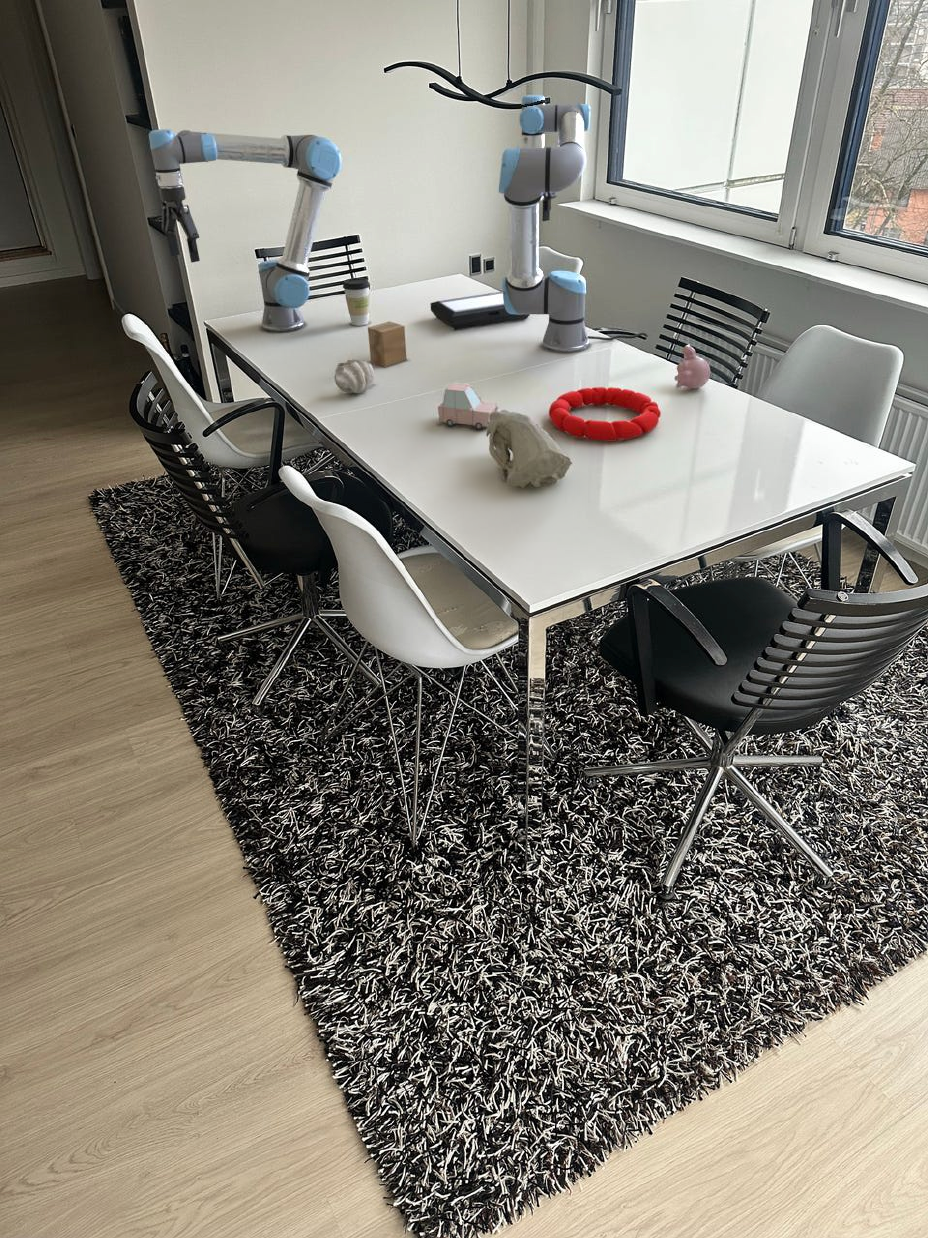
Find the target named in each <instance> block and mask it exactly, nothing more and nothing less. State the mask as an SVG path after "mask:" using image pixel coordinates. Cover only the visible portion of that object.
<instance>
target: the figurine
mask: <svg viewBox="0 0 928 1238" xmlns="http://www.w3.org/2000/svg"><path fill="white" fill-rule="evenodd" d="M682 354H683V358H684V359H683V361H682V362H679V363H678V364H677V365H676V372H677V375H675V376H674V381H675V382H676V381H677V382H676V384H675V386H676V388H681V387H686V388H688V389H693V390H694V389H695V390H696V389H700V388H703V387H704V386H705V385H706V384H707V383H708V382H709V379H710V377H711V367H710V364H709V362H708V361H706V359H704V358H702V357H700V356H697V353H696V350H695V349H694V347H692V345H690V344H686V345H685V346H684V347H683V348H682Z"/></svg>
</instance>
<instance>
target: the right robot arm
mask: <svg viewBox="0 0 928 1238" xmlns="http://www.w3.org/2000/svg"><path fill="white" fill-rule="evenodd" d="M545 99H546V98H545V96H544V95H543V94H528V95H524V96H522V97H521V105H525V104H531V103H534V102H537V101H541V100H545ZM545 101H546V100H545ZM590 124H591V106H590V105H589V104H588V103H568V104H567V103H566V104H564V103H563V104H546V102H545V103H543V104H539V105H533V106H527V107H522V108H521V112H520V114H519V126H520V128H521V145H520V146H521V147H520V146H517V147H509V148H506V149H504V150H503V152H502V155H501V156H502V157H501V164H500V173H499V183H498V193H499V194H502V195H503V198H504V202H506V203H507V204H508V205H509V239H510V241H509V242H510V269H508V271H507V273H506V276H504V277H503V278H502V285H501V287H502V288H501V289H502V291H503V301H504V306H505V309H506V311H507V312H508V313H510V314H517V315H521V314H530V315H548V323H547V326H546V328H545V329H546V330H545V332H544V335H543V338H542V348H544V349H545V350H547V351H550V352H554V353H576V352H581V351H584V350H586V349H588V347H589V342H590V341H589V340H601V341H613V340H615V339H636V338H639V337H641V336H643V337H645V338H648V337H649V335H648V334H647V333H646V332H639V333H637V334H634V335H625V334H624V335H623V334H619V335H618V334H617V335H613V336H610V337H603V336H594V335H593V336H592V335H588V332H587V329H586V325H585V311H586V310H585V307H586V305H585V304H586V294H587V290H586V279H585V278H584V277H583V276H582V274H579V273H577V272H574V271H568V270H553V271H550V273H549V276H544V274H543V271H542V269H541V268H540V267H539V203H540V202H541V201H542V219H541V220H542V222H547V221H550V218H551V215H550V214H551V210H552V200H553V199H556V198H557V193H558V192H561V191H564V190H566V189H569V187H571V186H572V185H574V184H575V183H576V182H577V181H578V180H579V179H580V178H581V177H582V175H583V174H584V171H585V169H586V166H587V152H586V150H585V148H584V134H585V133H584V132H588V131H589V130H590V126H591V125H590ZM545 133H558V140H557V146H550V147H548V146H546V147H545Z"/></svg>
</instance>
